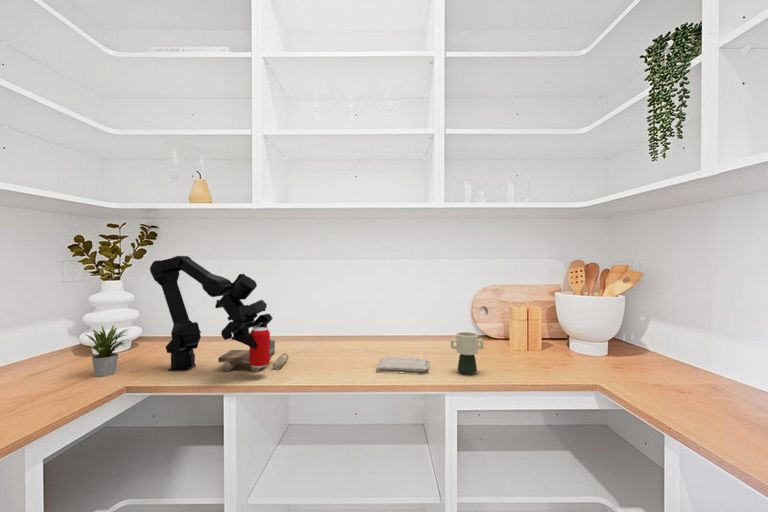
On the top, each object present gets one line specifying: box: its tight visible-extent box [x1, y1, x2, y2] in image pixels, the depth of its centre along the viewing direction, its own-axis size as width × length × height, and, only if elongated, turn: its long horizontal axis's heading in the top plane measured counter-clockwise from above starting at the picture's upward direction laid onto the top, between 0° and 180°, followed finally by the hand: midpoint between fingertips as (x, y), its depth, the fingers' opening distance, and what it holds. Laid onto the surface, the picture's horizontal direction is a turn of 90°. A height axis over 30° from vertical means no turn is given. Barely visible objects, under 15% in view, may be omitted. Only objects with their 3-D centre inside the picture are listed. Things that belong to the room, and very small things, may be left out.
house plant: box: [80, 324, 129, 378], centre depth 122 cm, size 14×14×16 cm
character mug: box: [450, 331, 485, 375], centre depth 123 cm, size 11×7×13 cm, turn 88°
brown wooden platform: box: [217, 339, 276, 373], centre depth 131 cm, size 16×13×8 cm
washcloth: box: [375, 356, 430, 375], centre depth 128 cm, size 12×18×3 cm, turn 82°
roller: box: [272, 353, 290, 370], centre depth 132 cm, size 3×10×3 cm, turn 1°
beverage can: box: [248, 327, 271, 369], centre depth 118 cm, size 6×6×12 cm
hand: (263, 345), depth 118 cm, fingers closed on beverage can, 6 cm apart
